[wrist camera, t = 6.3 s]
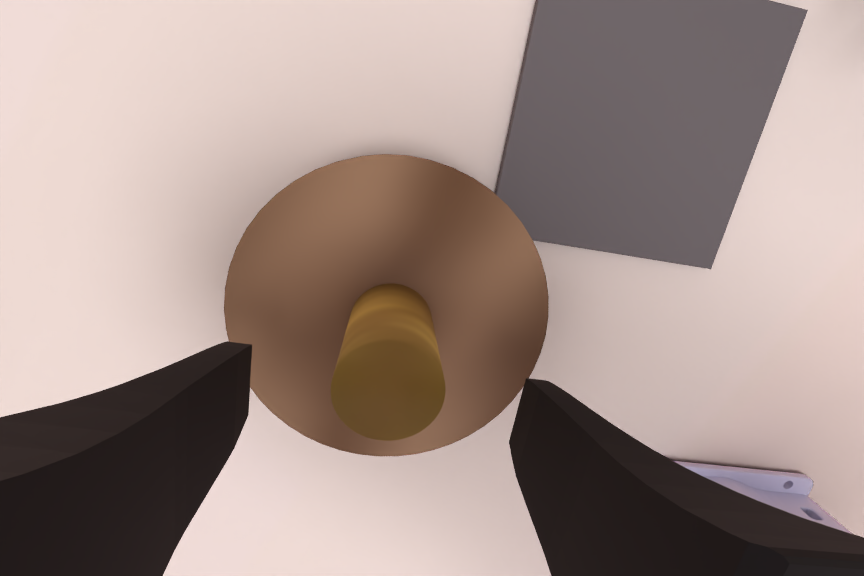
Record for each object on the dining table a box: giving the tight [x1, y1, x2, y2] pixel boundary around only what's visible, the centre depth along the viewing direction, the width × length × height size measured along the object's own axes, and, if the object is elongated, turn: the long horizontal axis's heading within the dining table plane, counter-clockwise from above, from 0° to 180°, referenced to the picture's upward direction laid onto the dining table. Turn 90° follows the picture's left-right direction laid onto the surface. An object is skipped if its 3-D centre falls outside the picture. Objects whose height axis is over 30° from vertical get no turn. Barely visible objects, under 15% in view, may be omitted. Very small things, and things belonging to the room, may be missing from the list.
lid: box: [224, 154, 548, 456], centre depth 13 cm, size 11×11×5 cm
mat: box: [495, 0, 808, 269], centre depth 17 cm, size 10×10×1 cm
